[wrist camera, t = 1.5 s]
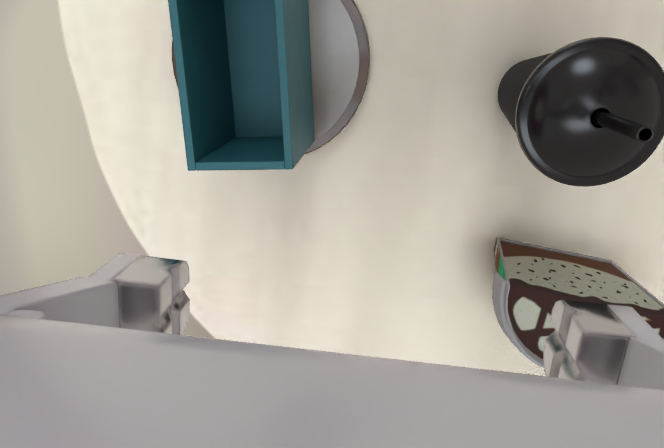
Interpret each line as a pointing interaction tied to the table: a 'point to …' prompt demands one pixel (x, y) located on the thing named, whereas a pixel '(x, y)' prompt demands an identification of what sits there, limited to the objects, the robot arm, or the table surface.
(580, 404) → the robot arm
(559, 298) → the food container
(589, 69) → the drinking cup
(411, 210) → the table surface
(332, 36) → the disc
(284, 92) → the bin
